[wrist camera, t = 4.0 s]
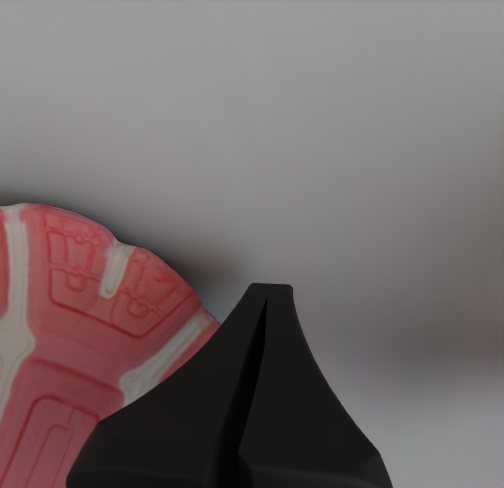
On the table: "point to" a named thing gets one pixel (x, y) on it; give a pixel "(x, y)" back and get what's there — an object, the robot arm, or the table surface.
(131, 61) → the table surface
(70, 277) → the athletic shoe
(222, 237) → the table surface
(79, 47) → the table surface
